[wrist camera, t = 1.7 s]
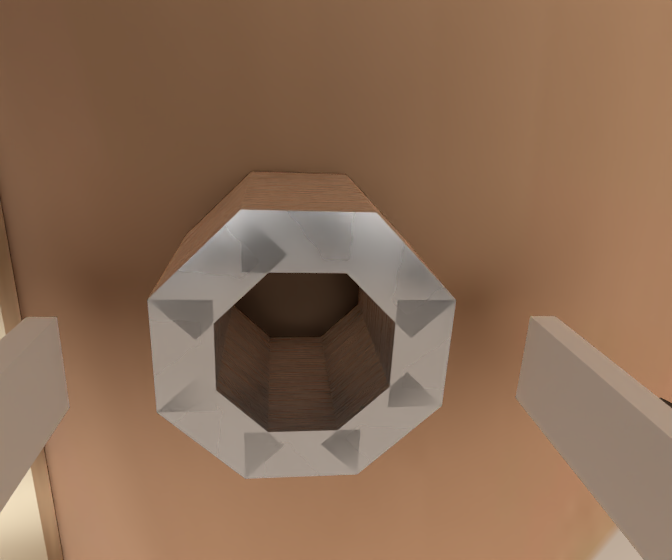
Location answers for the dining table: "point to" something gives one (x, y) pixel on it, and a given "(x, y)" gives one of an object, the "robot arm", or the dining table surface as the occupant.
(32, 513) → the shaft stand
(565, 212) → the dining table surface
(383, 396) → the hub
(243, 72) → the dining table surface
